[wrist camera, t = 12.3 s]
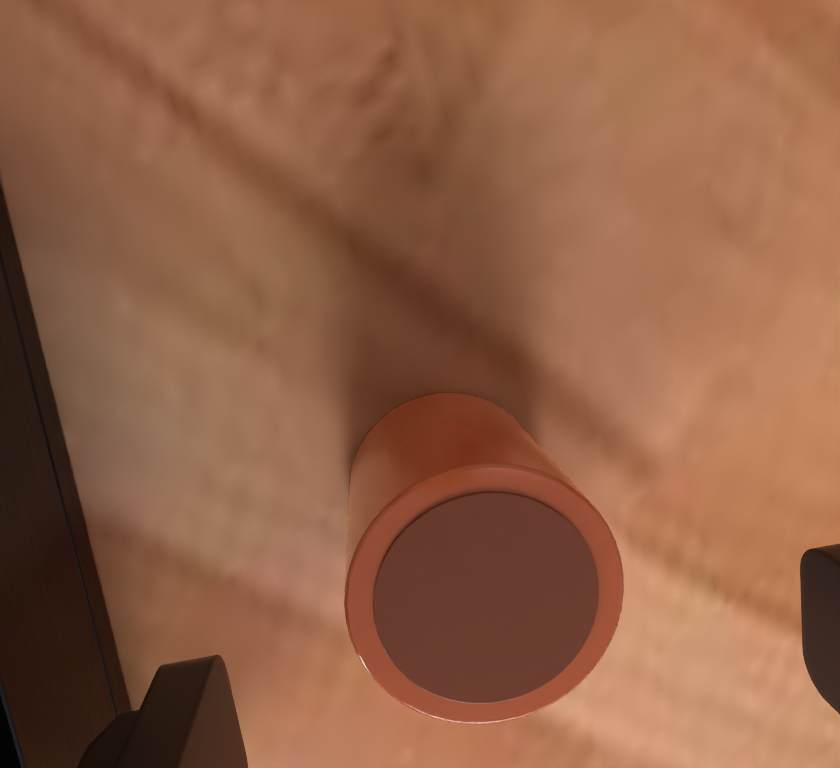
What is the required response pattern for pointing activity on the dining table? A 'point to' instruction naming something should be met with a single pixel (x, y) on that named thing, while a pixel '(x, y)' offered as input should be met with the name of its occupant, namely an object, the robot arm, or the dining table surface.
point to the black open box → (44, 562)
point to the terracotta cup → (474, 564)
